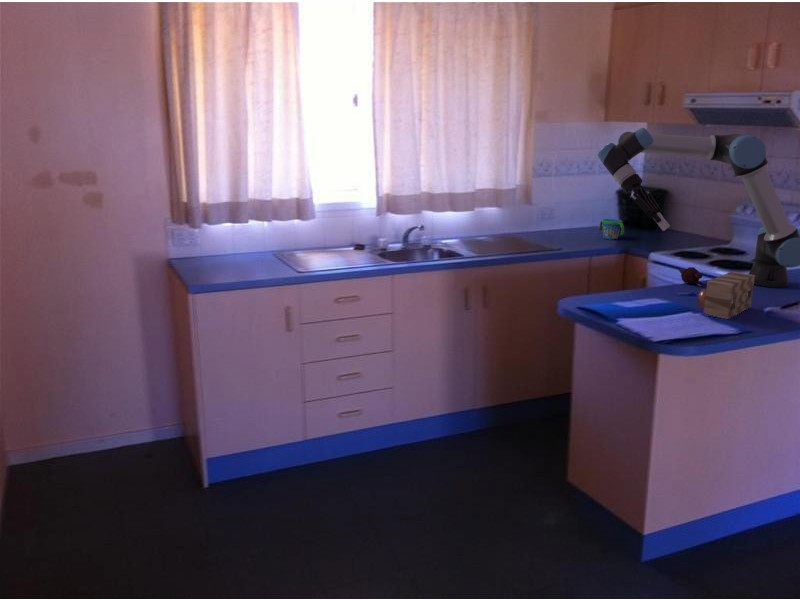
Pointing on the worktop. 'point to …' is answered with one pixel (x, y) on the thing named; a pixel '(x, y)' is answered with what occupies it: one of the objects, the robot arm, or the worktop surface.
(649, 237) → the worktop surface
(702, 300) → the terracotta knob
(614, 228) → the snack cup
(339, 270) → the worktop surface
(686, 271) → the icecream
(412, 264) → the worktop surface
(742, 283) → the block
